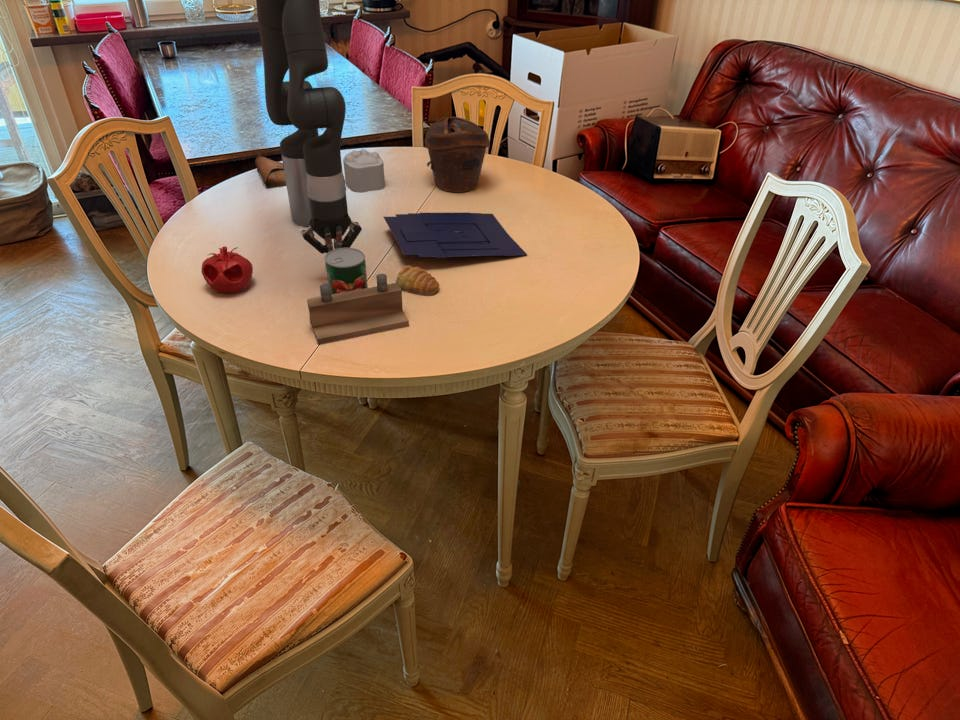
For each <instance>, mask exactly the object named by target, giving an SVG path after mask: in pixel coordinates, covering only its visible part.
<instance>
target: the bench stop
mask: <svg viewBox="0 0 960 720" xmlns="http://www.w3.org/2000/svg"><path fill="white" fill-rule="evenodd" d="M375 277H376V286H371V287H370V286H369V287H368V288H365V289H359V290H354V291H348V292H343V293H337V294H332V295H331V287H330V284H328V282H326V283H321V284H320V285H319V292H320V293H319V294H320V296H315V297H311V298H307V299H306V302H307V309H308V313H309V317H308V318H309V323H310V326H311V328H312V331H313V334H314V337H315V339H316V342H317V344H318V345H323V344H327V343H332V342H338V341H341V340H346V339H350V338H356V337H357V338H358V337H360V336H366V335H371V334H375V333H381V332H385V331H390V330H395V329H399V328H400V329H401V328H404V327H409V326H410V321H409V319H408V316H407V315H406V314H405V312H404V310H403V309H404V308H403V306H404V305H403V293H402V292H403V290H402V289H401V288H400V286H399V285H398V283H396V282H394V283H392V282H391V283H388V279H387V278H388V277H387V273H378V274H377V275H375Z"/></svg>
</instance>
